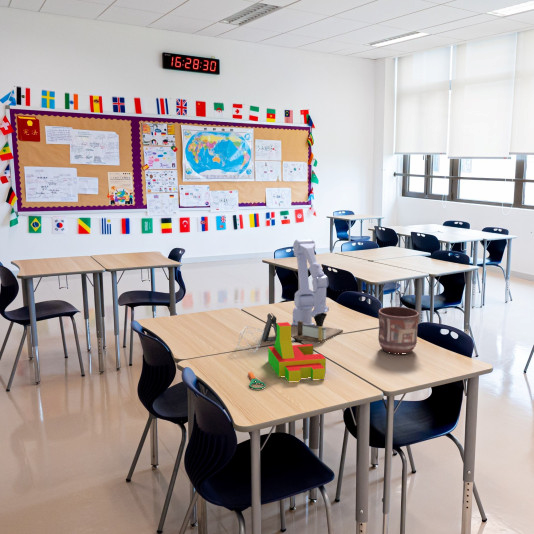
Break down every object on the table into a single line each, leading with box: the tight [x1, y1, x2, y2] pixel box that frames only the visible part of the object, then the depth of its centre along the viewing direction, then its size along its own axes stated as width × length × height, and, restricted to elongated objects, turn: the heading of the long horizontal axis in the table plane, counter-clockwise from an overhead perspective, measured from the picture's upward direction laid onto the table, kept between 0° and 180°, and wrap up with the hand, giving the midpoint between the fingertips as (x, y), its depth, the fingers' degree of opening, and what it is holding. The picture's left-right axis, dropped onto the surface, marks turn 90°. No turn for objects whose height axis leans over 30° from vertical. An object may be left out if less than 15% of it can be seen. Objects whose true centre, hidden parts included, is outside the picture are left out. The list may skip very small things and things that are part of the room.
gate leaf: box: [302, 323, 327, 339], centre depth 268 cm, size 12×2×5 cm, turn 55°
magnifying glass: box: [247, 371, 266, 390], centre depth 215 cm, size 15×6×2 cm, turn 14°
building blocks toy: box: [267, 321, 327, 382], centre depth 227 cm, size 19×25×18 cm
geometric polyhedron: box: [236, 325, 264, 354], centre depth 254 cm, size 12×11×9 cm
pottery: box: [377, 306, 420, 354], centre depth 251 cm, size 18×18×18 cm
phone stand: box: [260, 312, 278, 343], centre depth 268 cm, size 9×6×12 cm, turn 103°
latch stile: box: [318, 326, 323, 341], centre depth 264 cm, size 2×1×6 cm
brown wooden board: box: [292, 321, 344, 344], centre depth 275 cm, size 15×22×8 cm
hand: (319, 328), depth 275 cm, fingers closed
